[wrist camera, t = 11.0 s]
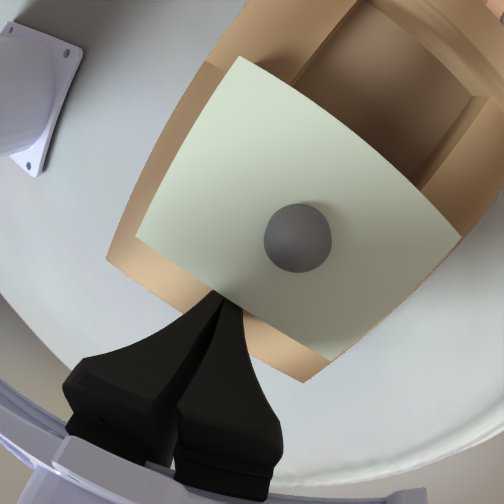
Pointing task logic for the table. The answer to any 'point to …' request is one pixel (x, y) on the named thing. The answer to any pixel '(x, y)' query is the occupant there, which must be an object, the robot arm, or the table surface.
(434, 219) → the cover
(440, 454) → the table surface
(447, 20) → the wooden compartment box
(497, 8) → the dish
